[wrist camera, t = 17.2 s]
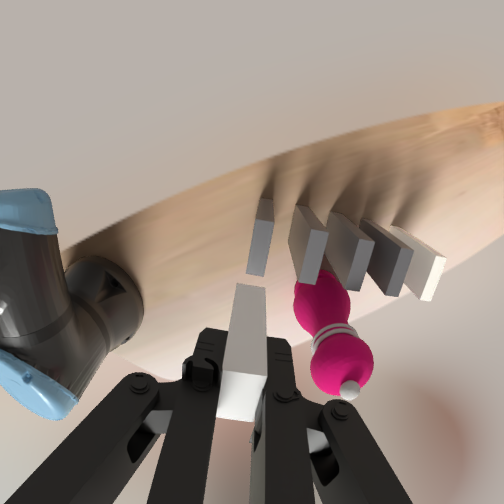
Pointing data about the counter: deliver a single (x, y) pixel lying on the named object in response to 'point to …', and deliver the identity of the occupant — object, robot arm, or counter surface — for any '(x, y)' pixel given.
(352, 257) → the domino
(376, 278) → the domino
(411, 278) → the white domino
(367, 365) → the pepper mill
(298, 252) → the domino
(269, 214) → the domino
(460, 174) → the counter surface
